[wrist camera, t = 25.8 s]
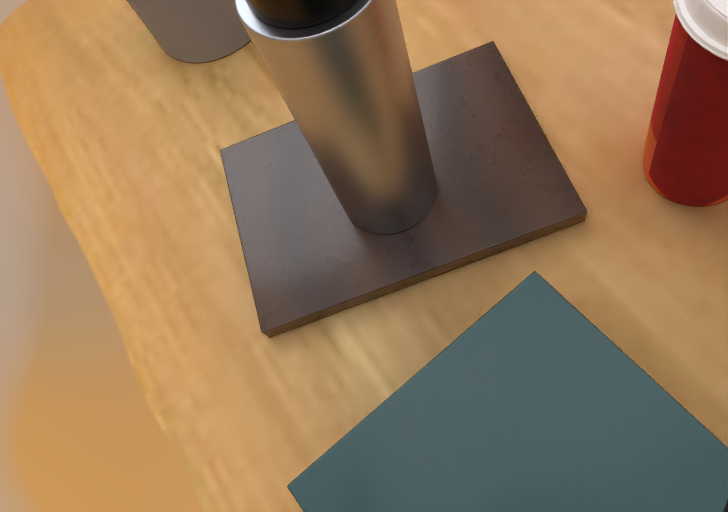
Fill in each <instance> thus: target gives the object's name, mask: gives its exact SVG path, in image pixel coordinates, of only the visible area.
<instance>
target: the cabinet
mask: <svg viewBox="0 0 728 512" xmlns="http://www.w3.org/2000/svg"><path fill="white" fill-rule="evenodd" d="M287 487H288V489H289V490H290V492H291V493H292V495H293V496H294V498H295V499H296V501H297V502H298V504H299V505H300V507H301V508H302V510H303V511H304V512H723V511H724V508H725V505H726V502H727V499H728V448H727V447H726V446H725V445H724V444H723V443H722V442H721V441H720V440H719V439H718V438H716V437H715V436H714V435H713V434H712V433H711V432H710V431H709V430H708V429H707V428H706V427H704V426H703V425H702V424H701V423H700V422H699V421H698V420H697V419H696V418H695V417H694V416H692V415H691V414H690V413H689V412H688V411H687V410H686V409H685V408H684V407H683V406H682V405H680V404H679V403H678V402H677V401H676V400H675V399H674V398H673V397H672V396H671V395H670V394H669V393H667V392H666V391H665V390H664V389H663V388H662V387H661V386H660V385H659V384H658V383H657V382H655V381H654V380H653V379H652V378H651V377H650V376H649V375H648V374H647V373H646V372H645V371H643V370H642V369H641V368H640V367H639V366H638V365H637V364H636V363H635V362H634V361H633V360H631V359H630V358H629V357H628V356H627V355H626V354H625V353H624V352H623V351H622V350H621V349H620V348H618V347H617V346H616V345H615V344H614V343H613V342H612V341H611V340H610V339H609V338H608V337H606V336H605V335H604V334H603V333H602V332H601V331H600V330H599V329H598V328H597V327H596V326H594V325H593V324H592V323H591V322H590V321H589V320H588V319H587V318H586V317H585V316H584V315H582V314H581V313H580V312H579V311H578V310H577V309H576V308H575V307H574V306H573V305H572V304H570V303H569V302H568V301H567V300H566V299H565V298H564V297H563V296H562V295H561V294H560V293H559V292H557V291H556V290H555V289H554V288H553V287H552V286H551V285H550V284H549V283H548V282H547V281H545V280H544V279H543V278H542V277H541V276H540V275H539V274H538V273H537V272H535V271H534V272H533V273H532V274H530V275H529V276H528V277H527V278H526V279H525V280H524V281H522V282H521V283H520V284H519V285H518V286H517V287H516V288H514V289H513V290H512V291H511V292H510V293H509V294H507V295H506V296H505V297H504V298H503V299H502V300H501V301H499V302H498V303H497V304H496V305H495V306H494V307H492V308H491V309H490V310H489V311H488V312H487V313H486V314H484V315H483V316H482V317H481V318H480V319H479V320H478V321H476V322H475V323H474V324H473V325H472V326H471V327H469V328H468V329H467V330H466V331H465V332H464V333H463V334H461V335H460V336H459V337H458V338H457V339H456V340H454V341H453V342H452V343H451V344H450V345H449V346H448V347H446V348H445V349H444V350H443V351H442V352H441V353H440V354H438V355H437V356H436V357H435V358H434V359H433V360H431V361H430V362H429V363H428V364H427V365H426V366H425V367H423V368H422V369H421V370H420V371H419V372H418V373H416V374H415V375H414V376H413V377H412V378H411V379H410V380H408V381H407V382H406V383H405V384H404V385H403V386H401V387H400V388H399V389H398V390H397V391H396V392H395V393H393V394H392V395H391V396H390V397H389V398H388V399H387V400H385V401H384V402H383V403H382V404H381V405H380V406H378V407H377V408H376V409H375V410H374V411H373V412H372V413H370V414H369V415H368V416H367V417H366V418H365V419H363V420H362V421H361V422H360V423H359V424H358V425H357V426H355V427H354V428H353V429H352V430H351V431H350V432H349V433H347V434H346V435H345V436H344V437H343V438H342V439H340V440H339V441H338V442H337V443H336V444H335V445H334V446H332V447H331V448H330V449H329V450H328V451H327V452H325V453H324V454H323V455H322V456H321V457H320V458H319V459H317V460H316V461H315V462H314V463H313V464H312V465H311V466H309V467H308V468H307V469H306V470H305V471H304V472H302V473H301V474H300V475H299V476H298V477H297V478H296V479H294V480H293V481H292V482H291V483H290V484H289V485H288V486H287Z"/></svg>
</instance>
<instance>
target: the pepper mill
mask: <svg viewBox="0 0 728 512" xmlns="http://www.w3.org/2000/svg"><path fill="white" fill-rule="evenodd" d="M235 7H236V11H237V14H238V16H239V18H240V20H241V22H242V24H243V26H244V27H245V29H246V31H247V33H248V35H249V37H250V38H251V40H252V42H253V44H254V46H255V48H256V49H257V51H258V53H259V55H260V57H261V59H262V60H263V62H264V64H265V66H266V68H267V70H268V71H269V73H270V75H271V77H272V79H273V81H274V82H275V84H276V86H277V88H278V90H279V92H280V93H281V95H282V97H283V99H284V101H285V103H286V104H287V106H288V108H289V110H290V112H291V114H292V115H293V117H294V119H295V121H296V123H297V125H298V126H299V128H300V130H301V132H302V134H303V136H304V137H305V139H306V141H307V143H308V145H309V147H310V148H311V150H312V152H313V154H314V156H315V158H316V159H317V161H318V163H319V165H320V167H321V169H322V170H323V172H324V174H325V176H326V178H327V180H328V181H329V183H330V185H331V187H332V189H333V191H334V192H335V194H336V196H337V198H338V200H339V202H340V203H341V205H342V207H343V209H344V211H345V213H346V214H347V216H348V217H349V219H350V220H351V221H352V222H353V223H354V224H355V225H356V226H358V227H360V228H361V229H363V230H365V231H368V232H371V233H376V234H393V233H398V232H401V231H404V230H406V229H408V228H411V227H412V226H414V225H415V224H417V223H418V222H419V221H421V220H422V219H423V218H424V217H425V216H426V214H427V213H428V212H429V210H430V209H431V207H432V205H433V203H434V200H435V197H436V193H437V181H436V177H435V172H434V168H433V163H432V159H431V155H430V150H429V146H428V141H427V137H426V132H425V128H424V124H423V119H422V115H421V110H420V106H419V101H418V97H417V93H416V88H415V84H414V79H413V75H412V71H411V66H410V62H409V57H408V53H407V48H406V44H405V40H404V35H403V31H402V26H401V22H400V17H399V13H398V9H397V4H396V0H235Z"/></svg>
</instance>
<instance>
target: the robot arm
mask: <svg viewBox="0 0 728 512" xmlns="http://www.w3.org/2000/svg"><path fill="white" fill-rule="evenodd" d="M723 512H728V499H727V502H726V505H725V508H724V511H723Z"/></svg>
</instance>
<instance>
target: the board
mask: <svg viewBox="0 0 728 512" xmlns="http://www.w3.org/2000/svg"><path fill="white" fill-rule="evenodd" d="M412 75H413V79H414V84H415V88H416V93H417V97H418V101H419V106H420V110H421V115H422V119H423V124H424V128H425V132H426V137H427V141H428V146H429V150H430V155H431V159H432V163H433V168H434V172H435V177H436V181H437V193H436V197H435V200H434V203H433V205H432V207H431V209H430V210H429V212H428V213H427V214H426V216H425V217H424V218H423V219H422V220H421V221H419V222H418V223H417V224H415V225H414V226H412V227H411V228H408V229H406V230H404V231H401V232H398V233H393V234H376V233H371V232H368V231H365V230H363V229H361V228H360V227H358V226H356V225H355V224H354V223H353V222H352V221H351V220H350V219H349V217H348V216H347V214H346V213H345V211H344V209H343V207H342V205H341V203H340V202H339V200H338V198H337V196H336V194H335V192H334V191H333V189H332V187H331V185H330V183H329V181H328V180H327V178H326V176H325V174H324V172H323V170H322V169H321V167H320V165H319V163H318V161H317V159H316V158H315V156H314V154H313V152H312V150H311V148H310V147H309V145H308V143H307V141H306V139H305V137H304V136H303V134H302V132H301V130H300V128H299V126H298V125H297V123H296V121H295V120H294V121H292V122H289V123H287V124H284V125H282V126H279V127H277V128H274V129H272V130H269V131H267V132H264V133H262V134H259V135H257V136H254V137H252V138H249V139H247V140H244V141H242V142H239V143H237V144H234V145H232V146H229V147H227V148H224V149H222V150H220V152H221V157H222V161H223V165H224V170H225V174H226V179H227V183H228V187H229V192H230V196H231V200H232V205H233V209H234V214H235V218H236V222H237V227H238V231H239V235H240V240H241V244H242V249H243V253H244V257H245V262H246V266H247V270H248V275H249V279H250V284H251V288H252V292H253V297H254V301H255V305H256V310H257V314H258V319H259V323H260V327H261V332H262V333H263V334H265V335H266V336H267V337H272V336H275V335H277V334H280V333H283V332H286V331H288V330H291V329H294V328H296V327H299V326H302V325H304V324H307V323H310V322H313V321H315V320H318V319H321V318H323V317H326V316H329V315H331V314H334V313H337V312H340V311H342V310H345V309H348V308H350V307H353V306H356V305H358V304H361V303H364V302H366V301H369V300H372V299H375V298H377V297H380V296H383V295H385V294H388V293H391V292H393V291H396V290H399V289H402V288H404V287H407V286H410V285H412V284H415V283H418V282H420V281H423V280H426V279H429V278H431V277H434V276H437V275H439V274H442V273H445V272H447V271H450V270H453V269H456V268H458V267H461V266H464V265H466V264H469V263H472V262H474V261H477V260H480V259H482V258H485V257H488V256H491V255H493V254H496V253H499V252H501V251H504V250H507V249H509V248H512V247H515V246H518V245H520V244H523V243H526V242H528V241H531V240H534V239H536V238H539V237H542V236H545V235H547V234H550V233H553V232H555V231H558V230H561V229H563V228H566V227H569V226H572V225H574V224H577V223H580V222H582V221H585V218H586V214H587V210H586V208H585V207H584V205H583V203H582V201H581V199H580V198H579V196H578V194H577V192H576V190H575V188H574V187H573V185H572V183H571V181H570V179H569V178H568V176H567V174H566V172H565V170H564V169H563V167H562V165H561V163H560V161H559V159H558V158H557V156H556V154H555V152H554V150H553V149H552V147H551V145H550V143H549V141H548V139H547V138H546V136H545V134H544V132H543V130H542V129H541V127H540V125H539V123H538V121H537V120H536V118H535V116H534V114H533V112H532V110H531V109H530V107H529V105H528V103H527V101H526V100H525V98H524V96H523V94H522V92H521V90H520V89H519V87H518V85H517V83H516V81H515V80H514V78H513V76H512V74H511V72H510V70H509V69H508V67H507V65H506V63H505V61H504V60H503V58H502V56H501V54H500V52H499V51H498V49H497V47H496V45H495V43H494V42H493V41H492V42H489V43H487V44H484V45H482V46H479V47H477V48H474V49H472V50H469V51H467V52H464V53H462V54H459V55H457V56H454V57H452V58H449V59H447V60H444V61H442V62H439V63H437V64H434V65H432V66H429V67H427V68H424V69H422V70H419V71H417V72H414V73H412Z"/></svg>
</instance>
